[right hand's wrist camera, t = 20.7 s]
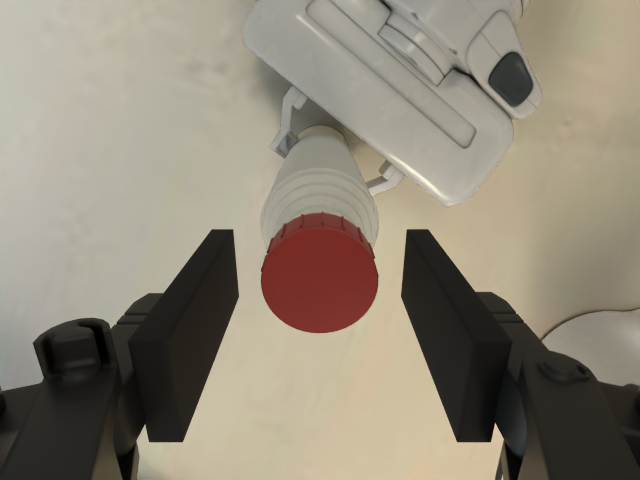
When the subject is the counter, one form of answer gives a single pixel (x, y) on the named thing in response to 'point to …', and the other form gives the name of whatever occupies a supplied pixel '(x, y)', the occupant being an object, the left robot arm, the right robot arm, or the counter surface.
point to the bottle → (319, 185)
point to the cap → (319, 273)
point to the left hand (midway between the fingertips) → (313, 179)
